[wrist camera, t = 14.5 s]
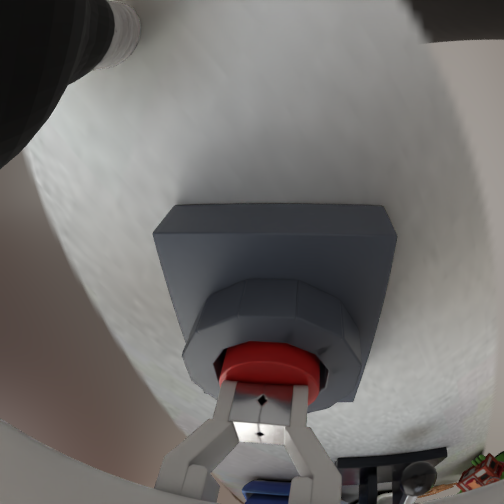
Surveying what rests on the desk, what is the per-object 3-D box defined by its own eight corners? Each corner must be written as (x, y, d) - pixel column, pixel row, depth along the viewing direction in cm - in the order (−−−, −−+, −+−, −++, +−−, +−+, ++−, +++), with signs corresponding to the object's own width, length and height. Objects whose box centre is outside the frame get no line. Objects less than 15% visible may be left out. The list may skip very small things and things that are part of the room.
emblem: (450, 489, 35) (450, 486, 36) (461, 480, 30) (460, 477, 31) (390, 503, 39) (390, 500, 40) (391, 497, 34) (391, 494, 34)
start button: (222, 319, 11) (210, 357, 10) (323, 324, 11) (324, 364, 9) (234, 375, 13) (226, 409, 12) (316, 380, 12) (314, 415, 11)
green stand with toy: (525, 495, 13) (497, 469, 17) (433, 543, 20) (407, 520, 24) (537, 423, 23) (515, 401, 26) (469, 478, 30) (448, 458, 33)
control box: (174, 204, 12) (127, 263, 9) (383, 205, 11) (413, 270, 7) (212, 362, 18) (195, 421, 14) (351, 369, 16) (354, 432, 13)
